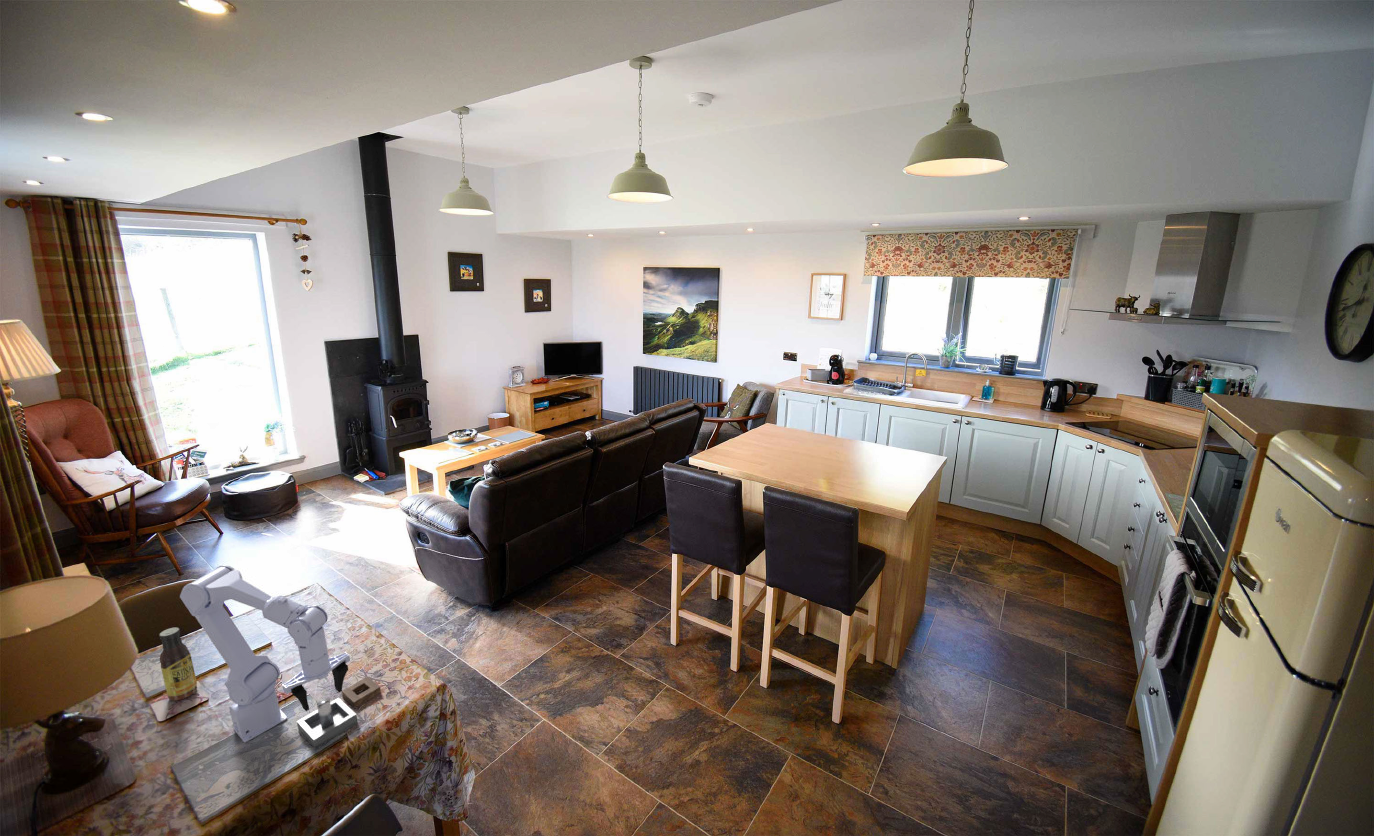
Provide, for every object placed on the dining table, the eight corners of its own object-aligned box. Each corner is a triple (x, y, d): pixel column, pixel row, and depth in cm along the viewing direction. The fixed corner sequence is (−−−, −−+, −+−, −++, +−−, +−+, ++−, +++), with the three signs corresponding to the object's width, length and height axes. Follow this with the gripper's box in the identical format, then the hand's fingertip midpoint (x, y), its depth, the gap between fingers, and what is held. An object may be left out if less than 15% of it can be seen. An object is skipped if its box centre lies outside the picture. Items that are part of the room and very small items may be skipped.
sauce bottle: (180, 703, 149) (163, 642, 144) (162, 700, 150) (144, 638, 145) (205, 686, 155) (189, 626, 150) (187, 683, 156) (171, 623, 151)
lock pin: (323, 730, 140) (319, 707, 138) (319, 725, 141) (314, 702, 139) (335, 723, 142) (331, 701, 140) (331, 718, 143) (327, 696, 142)
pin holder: (354, 708, 148) (353, 702, 148) (342, 697, 152) (341, 691, 151) (381, 692, 154) (380, 686, 153) (368, 682, 157) (367, 676, 157)
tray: (315, 749, 135) (313, 740, 134) (298, 730, 141) (296, 721, 140) (357, 723, 143) (356, 714, 142) (340, 706, 149) (338, 697, 148)
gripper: (287, 678, 128) (297, 725, 132) (352, 645, 140) (359, 689, 143) (275, 665, 132) (285, 711, 136) (339, 634, 144) (347, 677, 147)
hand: (322, 699), depth 140 cm, fingers open, 7 cm apart
